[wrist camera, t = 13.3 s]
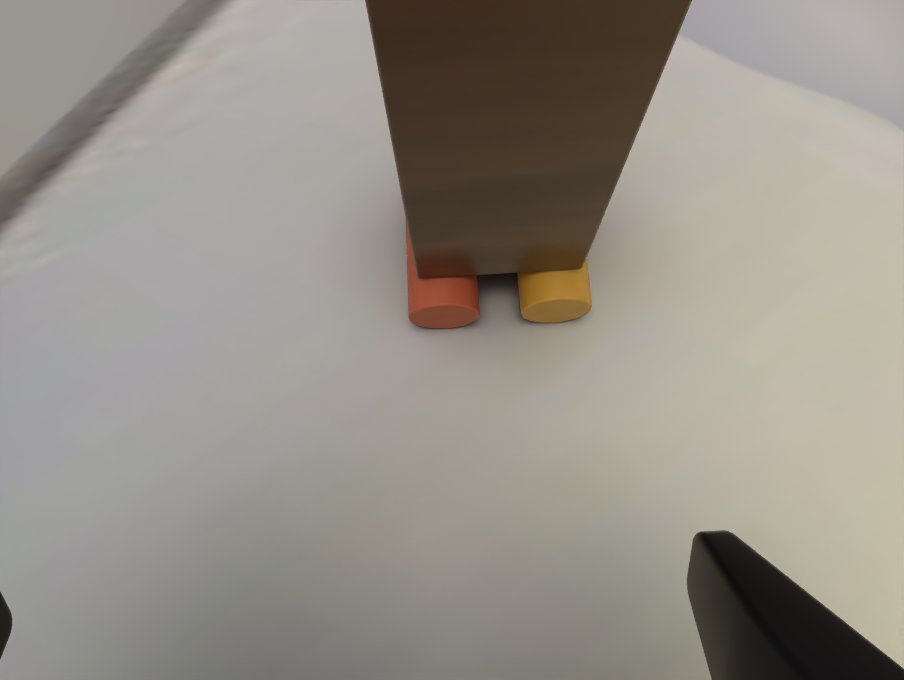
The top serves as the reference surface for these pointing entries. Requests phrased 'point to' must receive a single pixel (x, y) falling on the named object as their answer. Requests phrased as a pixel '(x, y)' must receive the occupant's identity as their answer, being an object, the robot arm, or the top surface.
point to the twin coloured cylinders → (459, 302)
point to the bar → (514, 121)
